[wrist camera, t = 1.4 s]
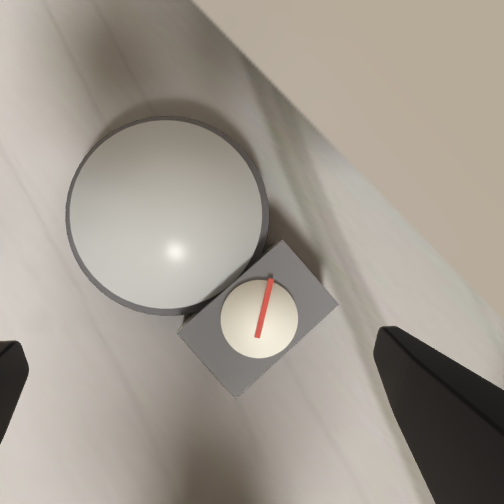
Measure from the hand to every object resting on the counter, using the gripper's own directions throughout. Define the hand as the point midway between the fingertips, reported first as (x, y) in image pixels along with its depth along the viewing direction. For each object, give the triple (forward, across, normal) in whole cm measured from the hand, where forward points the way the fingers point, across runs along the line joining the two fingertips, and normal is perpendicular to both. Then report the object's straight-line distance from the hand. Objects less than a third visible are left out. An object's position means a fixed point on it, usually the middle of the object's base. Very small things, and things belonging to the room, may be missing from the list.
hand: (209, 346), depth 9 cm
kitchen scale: (+14, +1, +4) cm, 14 cm away
